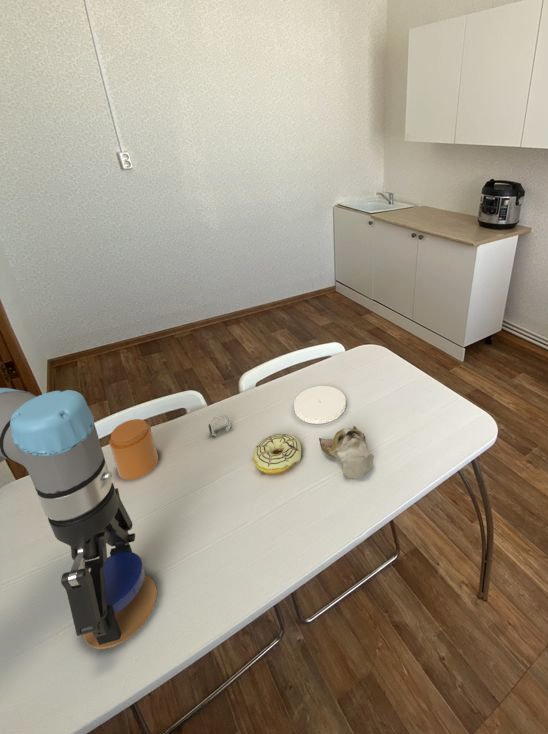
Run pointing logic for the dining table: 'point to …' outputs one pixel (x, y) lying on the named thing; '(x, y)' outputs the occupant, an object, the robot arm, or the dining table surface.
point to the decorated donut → (280, 462)
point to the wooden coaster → (131, 615)
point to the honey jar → (133, 449)
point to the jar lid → (122, 579)
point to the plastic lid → (320, 404)
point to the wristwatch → (216, 420)
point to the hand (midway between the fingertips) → (120, 605)
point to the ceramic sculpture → (349, 451)
